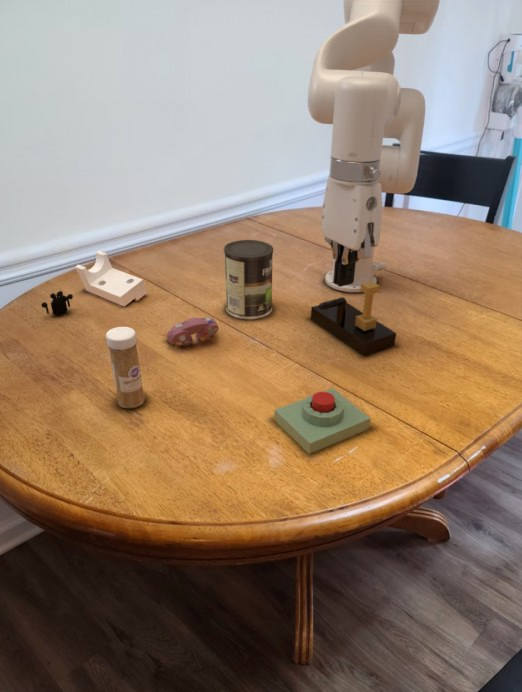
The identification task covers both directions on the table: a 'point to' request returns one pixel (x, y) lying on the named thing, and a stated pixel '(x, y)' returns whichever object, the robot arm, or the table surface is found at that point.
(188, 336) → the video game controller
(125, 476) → the table surface
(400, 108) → the robot arm
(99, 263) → the bracket
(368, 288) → the tap handle
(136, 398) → the sprinkles bottle
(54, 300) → the wireless earbuds
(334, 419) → the block
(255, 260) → the coffee can
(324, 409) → the button
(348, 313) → the tap base
